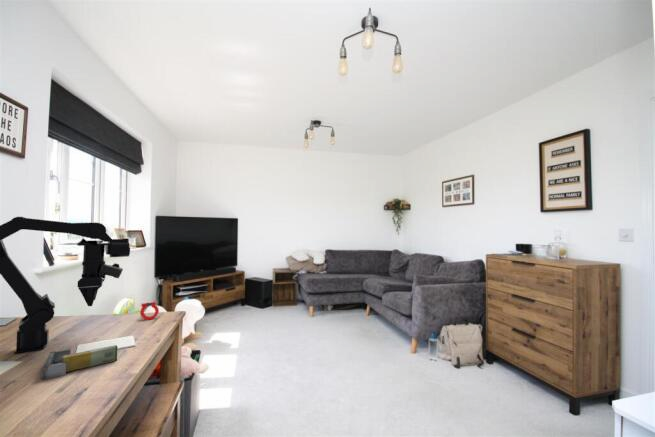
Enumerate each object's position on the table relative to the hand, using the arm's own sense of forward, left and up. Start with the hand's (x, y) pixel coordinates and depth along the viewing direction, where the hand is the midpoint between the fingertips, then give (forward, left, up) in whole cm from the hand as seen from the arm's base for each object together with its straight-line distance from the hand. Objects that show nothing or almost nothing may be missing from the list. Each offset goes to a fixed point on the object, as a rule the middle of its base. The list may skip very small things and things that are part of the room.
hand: (91, 303), depth 103 cm
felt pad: (+5, -12, -12) cm, 18 cm away
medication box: (+1, -26, -12) cm, 28 cm away
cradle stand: (-6, -23, -12) cm, 27 cm away
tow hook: (+18, +15, -14) cm, 28 cm away
